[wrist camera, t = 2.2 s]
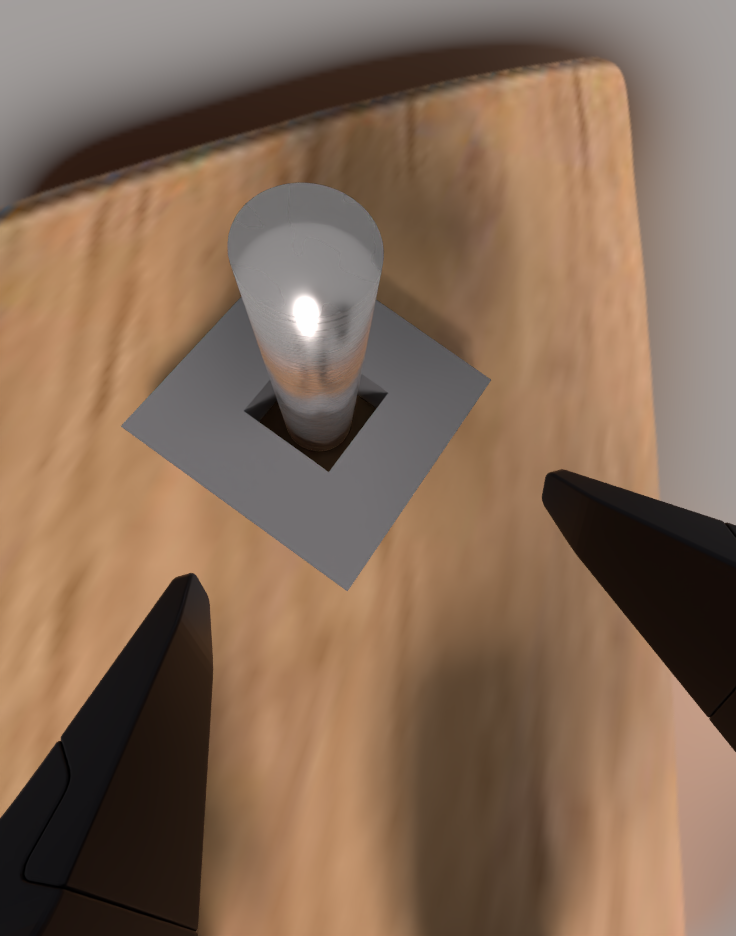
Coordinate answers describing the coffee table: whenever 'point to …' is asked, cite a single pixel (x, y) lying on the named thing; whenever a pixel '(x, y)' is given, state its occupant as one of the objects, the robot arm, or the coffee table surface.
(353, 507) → the pocket block
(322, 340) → the steel peg
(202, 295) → the coffee table surface
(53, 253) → the coffee table surface
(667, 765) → the coffee table surface
